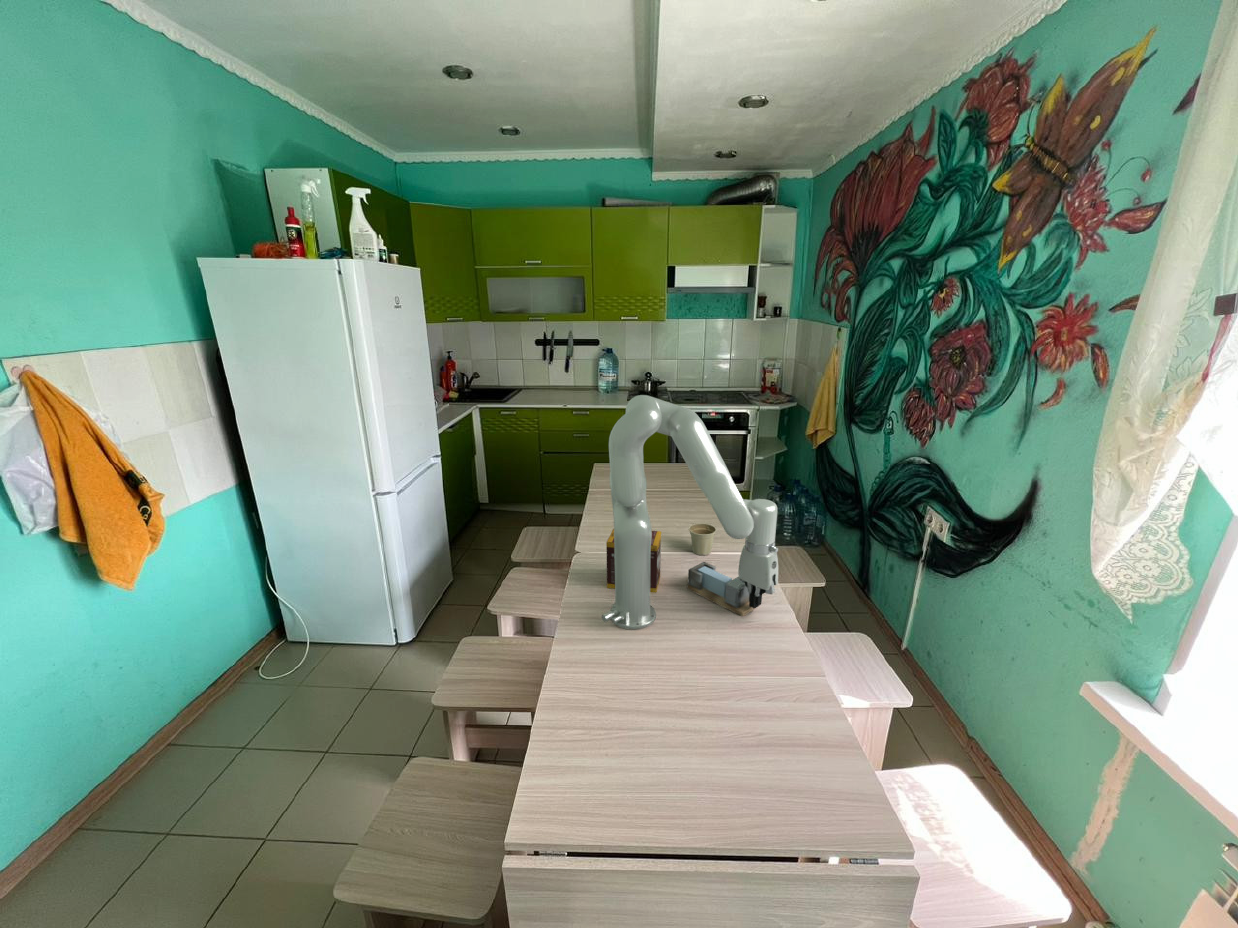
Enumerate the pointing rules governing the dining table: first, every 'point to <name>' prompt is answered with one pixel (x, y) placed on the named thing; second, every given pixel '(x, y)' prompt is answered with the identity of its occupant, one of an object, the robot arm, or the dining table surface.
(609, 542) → the supplement box
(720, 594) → the light blue block
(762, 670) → the dining table surface
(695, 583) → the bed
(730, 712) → the dining table surface
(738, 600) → the grey concrete block
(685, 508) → the dining table surface
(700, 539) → the flower pot
